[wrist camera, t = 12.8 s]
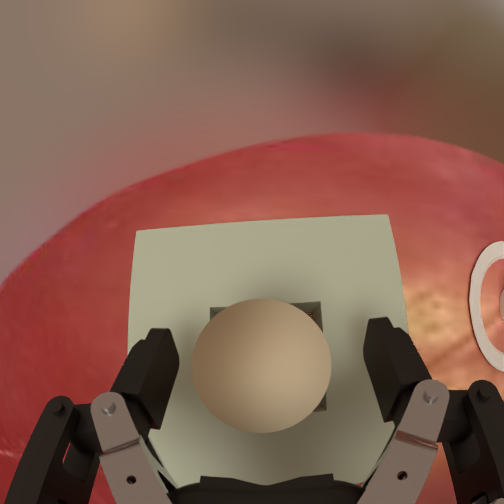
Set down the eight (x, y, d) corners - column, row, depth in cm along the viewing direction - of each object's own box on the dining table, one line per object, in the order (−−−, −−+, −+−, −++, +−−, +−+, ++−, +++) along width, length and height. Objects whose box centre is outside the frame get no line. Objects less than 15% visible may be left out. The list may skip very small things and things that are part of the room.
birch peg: (298, 329, 18) (326, 294, 8) (301, 387, 17) (333, 427, 7) (238, 332, 19) (191, 301, 8) (240, 390, 17) (194, 431, 7)
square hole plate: (370, 239, 20) (387, 214, 16) (386, 452, 14) (408, 470, 11) (158, 252, 21) (136, 230, 18) (160, 461, 16) (136, 479, 12)
